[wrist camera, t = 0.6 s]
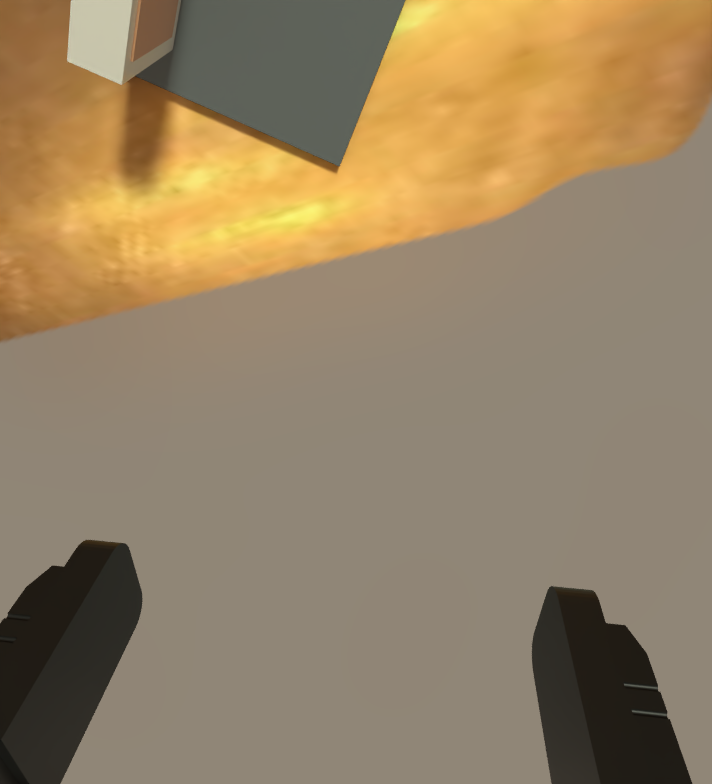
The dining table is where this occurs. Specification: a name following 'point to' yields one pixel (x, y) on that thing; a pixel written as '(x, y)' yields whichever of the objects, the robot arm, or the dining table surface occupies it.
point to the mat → (280, 64)
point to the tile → (121, 35)
